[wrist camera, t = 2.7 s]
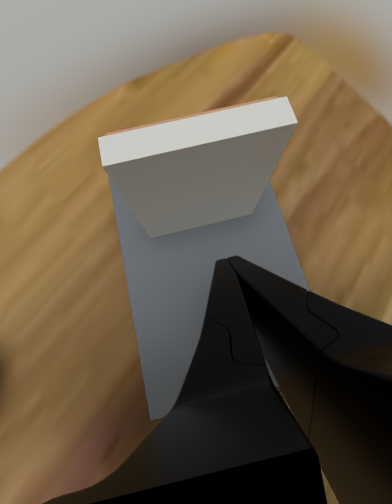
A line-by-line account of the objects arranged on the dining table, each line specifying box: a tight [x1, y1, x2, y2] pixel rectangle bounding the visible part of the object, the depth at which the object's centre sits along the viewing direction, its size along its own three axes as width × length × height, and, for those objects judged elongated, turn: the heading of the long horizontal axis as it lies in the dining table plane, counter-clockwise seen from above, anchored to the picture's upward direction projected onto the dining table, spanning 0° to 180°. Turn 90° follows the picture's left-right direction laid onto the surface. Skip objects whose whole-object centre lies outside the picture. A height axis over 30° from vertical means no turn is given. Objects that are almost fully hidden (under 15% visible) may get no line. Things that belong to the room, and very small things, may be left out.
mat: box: [109, 177, 310, 421], centre depth 16 cm, size 19×11×1 cm, turn 14°
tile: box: [98, 96, 298, 238], centre depth 12 cm, size 2×7×8 cm, turn 104°
